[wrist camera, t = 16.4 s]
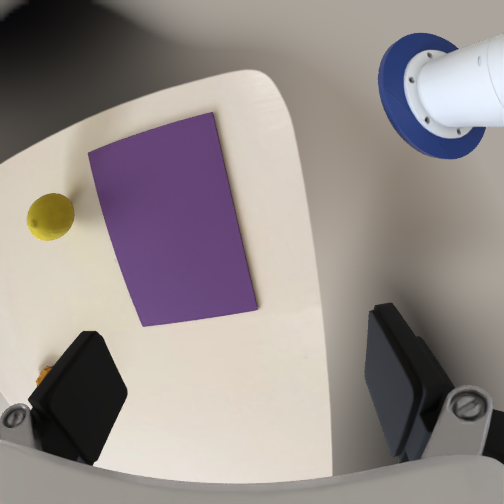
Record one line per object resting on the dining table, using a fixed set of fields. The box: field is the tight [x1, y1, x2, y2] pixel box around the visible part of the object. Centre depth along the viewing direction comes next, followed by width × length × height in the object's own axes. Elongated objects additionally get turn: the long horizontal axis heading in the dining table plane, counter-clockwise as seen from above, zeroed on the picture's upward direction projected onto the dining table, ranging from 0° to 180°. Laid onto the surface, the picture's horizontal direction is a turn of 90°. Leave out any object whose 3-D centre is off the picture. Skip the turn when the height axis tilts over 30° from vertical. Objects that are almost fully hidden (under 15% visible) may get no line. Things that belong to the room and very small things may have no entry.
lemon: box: [27, 193, 74, 241], centre depth 31 cm, size 6×6×8 cm
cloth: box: [88, 112, 258, 327], centre depth 35 cm, size 24×16×1 cm, turn 12°
